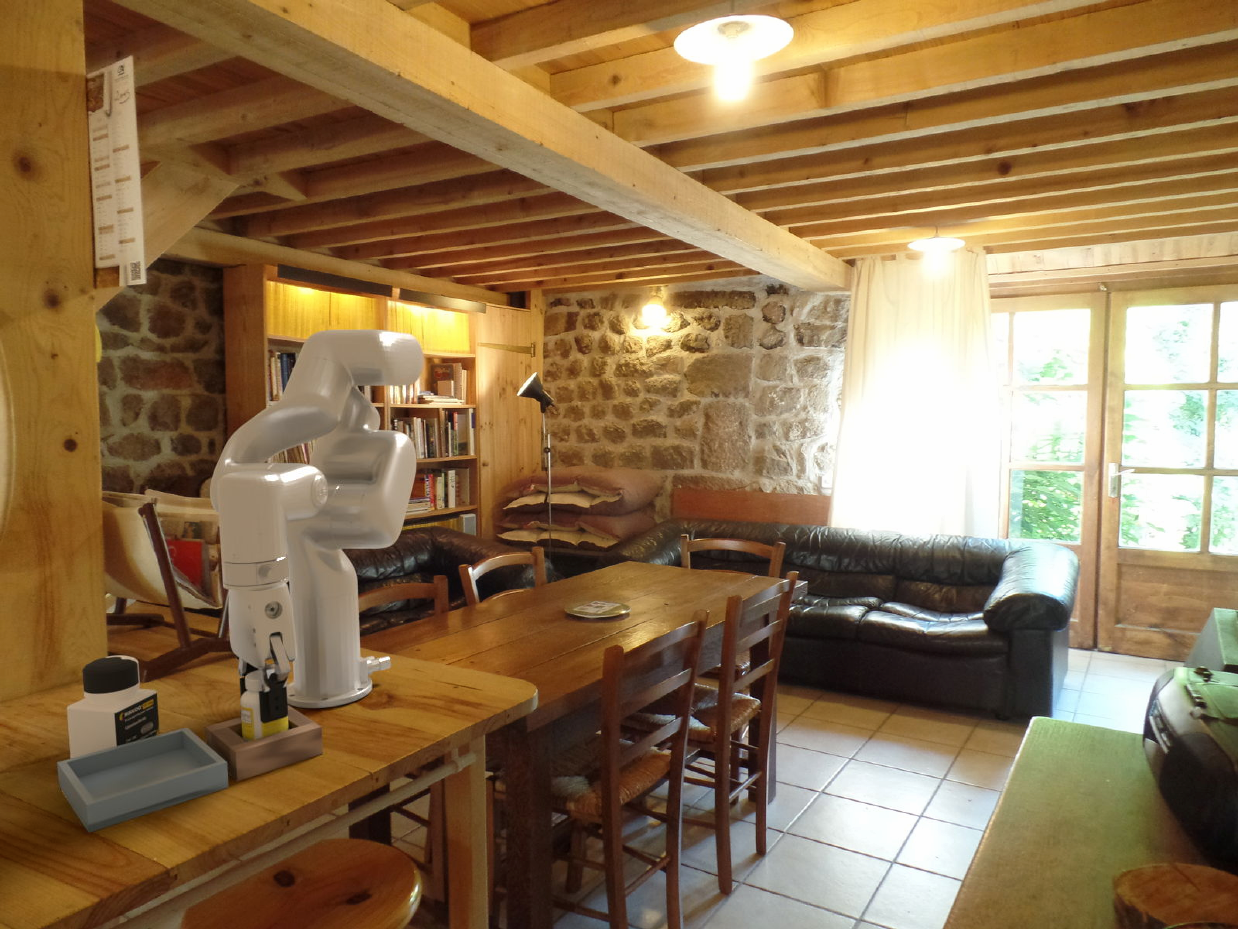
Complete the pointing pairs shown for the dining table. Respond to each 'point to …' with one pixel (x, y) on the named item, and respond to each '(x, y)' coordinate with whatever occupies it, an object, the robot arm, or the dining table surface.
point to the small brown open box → (264, 745)
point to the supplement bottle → (257, 711)
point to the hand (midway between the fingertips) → (264, 711)
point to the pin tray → (140, 777)
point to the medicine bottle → (111, 707)
